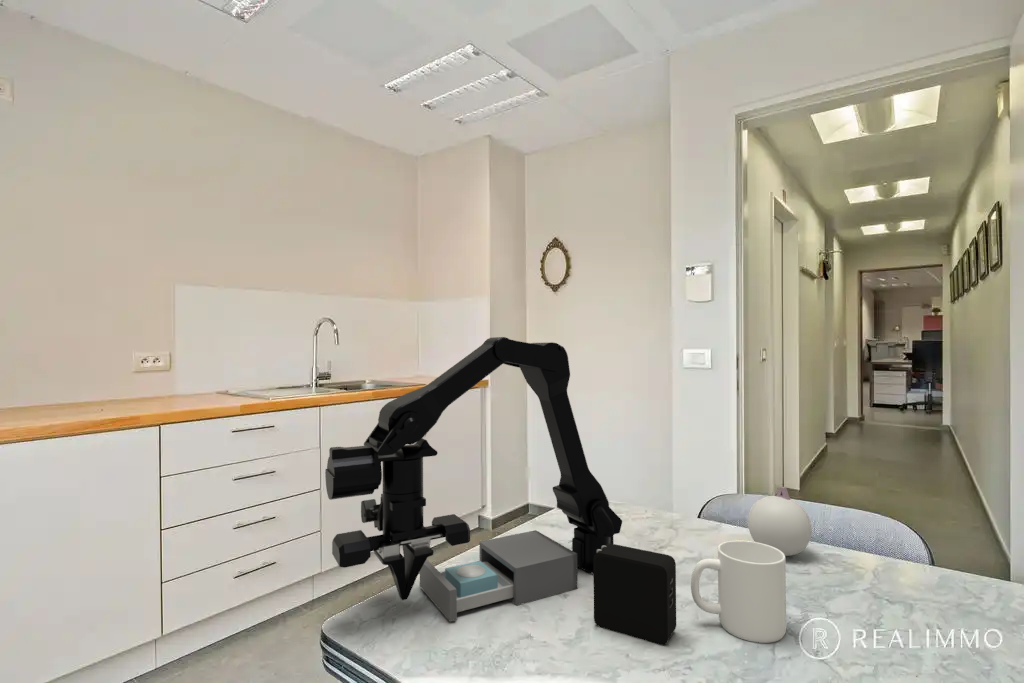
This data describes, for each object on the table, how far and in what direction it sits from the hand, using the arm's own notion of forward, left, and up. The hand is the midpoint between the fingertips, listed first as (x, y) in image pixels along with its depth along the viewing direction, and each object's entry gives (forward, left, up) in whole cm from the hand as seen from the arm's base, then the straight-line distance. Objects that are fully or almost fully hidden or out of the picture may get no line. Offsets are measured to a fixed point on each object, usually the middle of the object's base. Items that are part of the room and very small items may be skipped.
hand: (403, 598), depth 76 cm
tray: (-11, 0, -2) cm, 11 cm away
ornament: (-66, +13, -2) cm, 67 cm away
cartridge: (-11, 0, -1) cm, 11 cm away
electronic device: (-26, +20, -2) cm, 32 cm away
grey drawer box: (-20, 0, -2) cm, 20 cm away
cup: (-38, +26, -2) cm, 46 cm away
